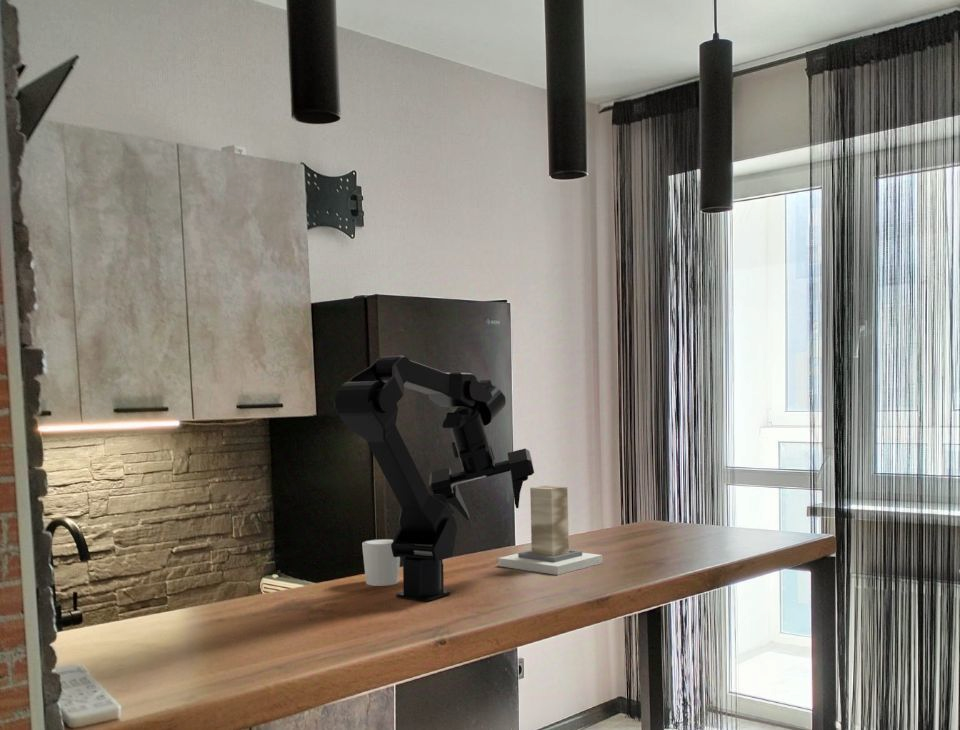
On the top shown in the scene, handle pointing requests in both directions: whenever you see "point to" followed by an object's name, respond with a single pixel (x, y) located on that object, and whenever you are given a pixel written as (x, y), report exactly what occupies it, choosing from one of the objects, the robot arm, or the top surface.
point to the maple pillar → (549, 520)
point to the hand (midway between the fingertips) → (492, 513)
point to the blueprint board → (550, 562)
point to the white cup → (380, 563)
